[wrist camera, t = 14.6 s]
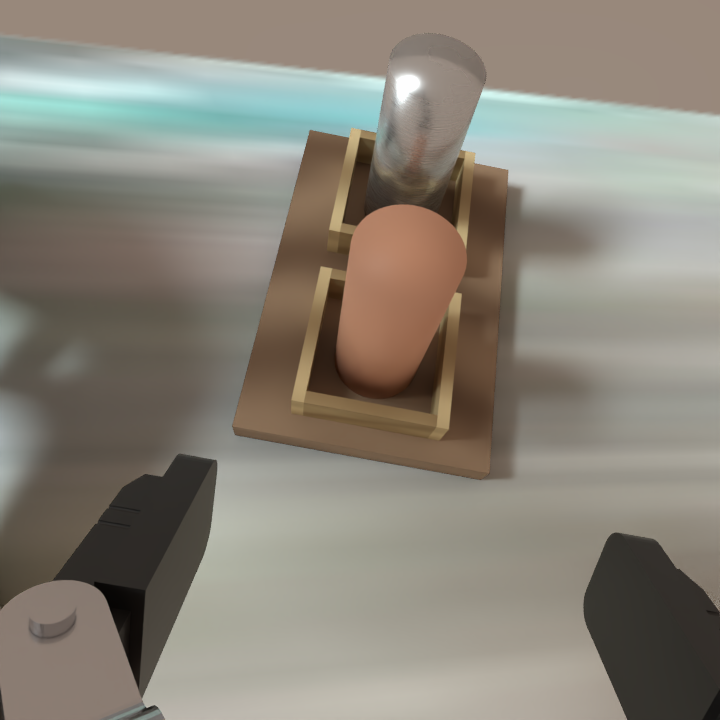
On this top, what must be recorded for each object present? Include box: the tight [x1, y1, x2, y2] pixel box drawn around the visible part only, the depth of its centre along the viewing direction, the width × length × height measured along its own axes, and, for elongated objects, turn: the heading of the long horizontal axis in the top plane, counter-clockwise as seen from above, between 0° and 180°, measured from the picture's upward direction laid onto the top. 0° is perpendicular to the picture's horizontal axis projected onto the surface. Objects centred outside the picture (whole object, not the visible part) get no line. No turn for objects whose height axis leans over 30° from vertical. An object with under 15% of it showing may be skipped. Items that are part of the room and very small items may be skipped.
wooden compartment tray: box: [232, 128, 508, 480], centre depth 32 cm, size 20×13×4 cm, turn 171°
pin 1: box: [364, 33, 486, 217], centre depth 30 cm, size 4×4×10 cm
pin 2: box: [335, 204, 467, 399], centre depth 26 cm, size 4×4×10 cm
